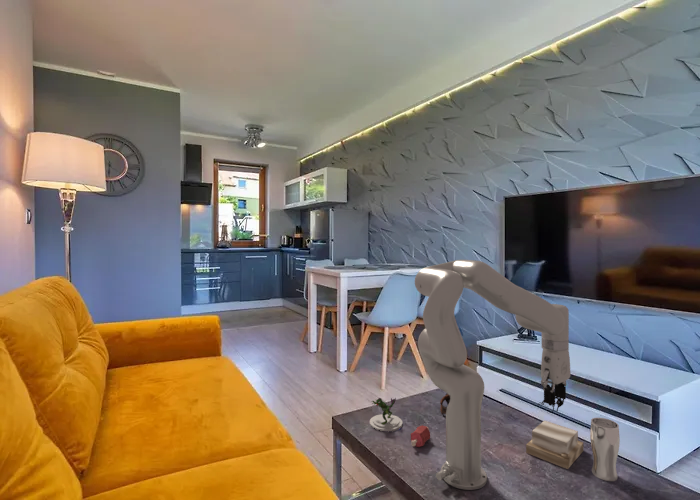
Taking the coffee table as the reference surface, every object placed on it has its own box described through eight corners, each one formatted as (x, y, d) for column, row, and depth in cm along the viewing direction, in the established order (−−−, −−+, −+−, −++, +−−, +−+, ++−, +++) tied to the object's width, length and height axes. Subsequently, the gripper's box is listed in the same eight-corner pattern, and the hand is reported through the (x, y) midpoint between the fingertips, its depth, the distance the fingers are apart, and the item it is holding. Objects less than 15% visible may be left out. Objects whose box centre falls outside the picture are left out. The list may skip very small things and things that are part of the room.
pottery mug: (472, 418, 145) (464, 403, 143) (450, 430, 145) (442, 414, 143) (459, 398, 157) (452, 383, 154) (438, 408, 157) (431, 394, 154)
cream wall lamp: (567, 470, 112) (567, 446, 112) (526, 453, 121) (526, 431, 121) (583, 451, 122) (583, 430, 122) (543, 437, 131) (543, 417, 130)
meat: (421, 452, 121) (417, 436, 122) (408, 451, 124) (404, 436, 125) (436, 435, 131) (432, 421, 132) (423, 435, 134) (419, 421, 134)
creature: (542, 417, 118) (570, 413, 116) (538, 400, 118) (565, 395, 116) (535, 406, 125) (561, 402, 124) (531, 390, 125) (557, 386, 124)
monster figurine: (363, 420, 144) (363, 393, 144) (390, 413, 150) (390, 387, 149) (380, 435, 133) (380, 405, 133) (409, 427, 139) (408, 398, 139)
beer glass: (625, 479, 107) (625, 426, 107) (606, 484, 105) (606, 430, 105) (602, 465, 114) (602, 415, 113) (584, 470, 112) (584, 419, 111)
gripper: (553, 352, 112) (554, 412, 113) (579, 341, 123) (579, 397, 123) (528, 346, 118) (529, 404, 119) (555, 337, 129) (555, 390, 129)
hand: (554, 400), depth 121 cm, fingers closed on creature, 6 cm apart
